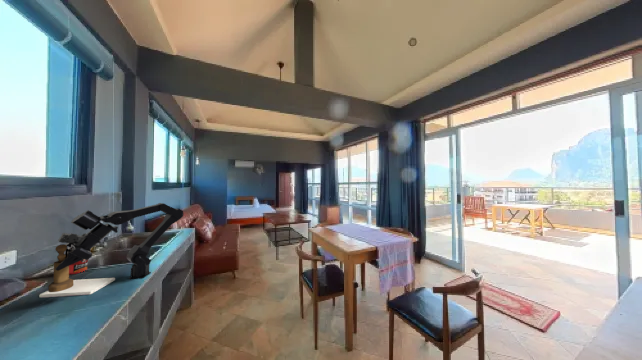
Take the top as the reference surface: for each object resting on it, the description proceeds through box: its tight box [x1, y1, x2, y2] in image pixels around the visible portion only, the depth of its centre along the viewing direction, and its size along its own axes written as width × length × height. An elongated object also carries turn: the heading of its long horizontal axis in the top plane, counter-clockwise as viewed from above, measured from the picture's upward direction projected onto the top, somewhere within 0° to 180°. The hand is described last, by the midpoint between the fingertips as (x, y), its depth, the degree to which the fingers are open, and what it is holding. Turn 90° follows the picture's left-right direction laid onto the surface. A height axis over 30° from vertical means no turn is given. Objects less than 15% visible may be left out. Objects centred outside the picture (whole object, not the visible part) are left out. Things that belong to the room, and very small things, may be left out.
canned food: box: [69, 259, 89, 275], centre depth 110 cm, size 8×8×11 cm
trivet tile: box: [39, 277, 116, 298], centre depth 94 cm, size 18×13×1 cm
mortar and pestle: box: [47, 243, 74, 292], centre depth 85 cm, size 7×6×18 cm
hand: (55, 268), depth 84 cm, fingers closed on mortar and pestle, 4 cm apart
